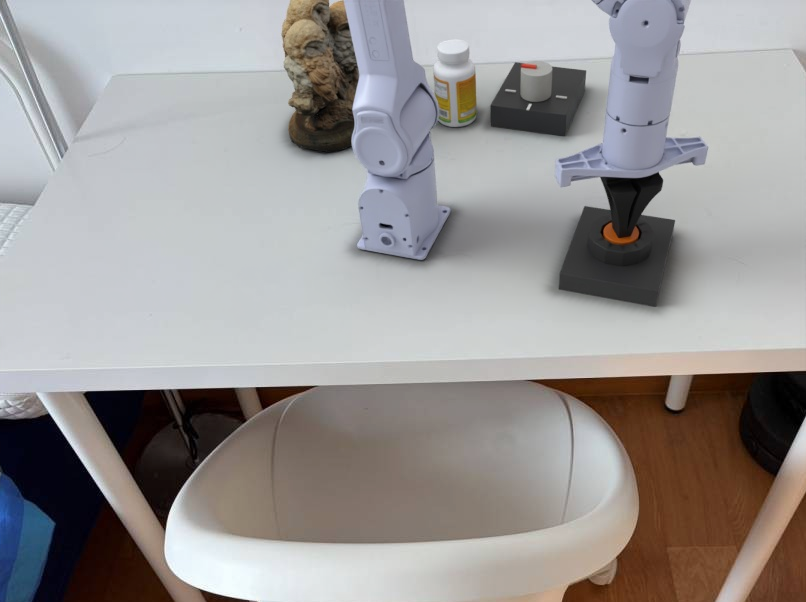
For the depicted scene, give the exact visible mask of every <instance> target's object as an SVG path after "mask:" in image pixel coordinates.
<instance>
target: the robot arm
mask: <svg viewBox="0 0 806 602" xmlns="http://www.w3.org/2000/svg"><path fill="white" fill-rule="evenodd" d="M591 1H592V2H593V3H594V5H595V6H597V8H598V9H599V10H600V11H602V12H604V14H606V15H608V16H610V17H609V19H608V29H609V33H610V36H611V38H612V41H613V42H614V52H613V55H612V58H611V61H610V69H609V79H608V89H607V101H606V107H605V117H604V126H603V127H604V128H603V138H602V142H601V143H599V144H596V145H594V146H591V147H589V148H586V149H584V150H581V151H579V152H576V153H574V154H571V155H568V156H564V157H559V158H555V161H554V178H555V179H556V182H557V184H558V185H559V187H560V188H565V187H566V188H567V187H570V186H571V185H572V182H577V181H583V180H589V179H590V180H591V179H597V178H600V181H601V183H602V186H603V188H604V191H605V195H606V197H607V201H608V206H609V210H610V211H611V218H612V228H613V230H614V231H615V233H616V235H617V237H618V238H624V237H629V236H631V234H632V232H633V230H634V228H635V226H636V224H637V222H638V220H639V218H640V216H641V215H643V213H644V211H645V210H646V208H647V206H648V205H649V204H650V203H651V201H653V199H654V198H655V197H656V196H657V195H658V194H659V193H660V192H661V191H662V189H663V185H664V179H663V177H662V175H661V174H660V172H662V171H664V170H667V169H669V168H671V167H674V166H678V165H684V164H691V163H692V165H694V166H695V167H696V166H703V165H704V166H705V164H706V162H707V156H708V151H709V146H708V145H707V144H706V142H705V141H704V139H703V138H702V137H701V136H694V137H673V136H672V137H669V136H668V137H667V135H668V134H667V133H668V127H669V123H670V122H669V121H670V117H671V112H672V104H673V100H674V94H675V87H676V81H677V75H678V70H679V58H678V57H679V55H680V51H681V46H682V44H681V43H682V41H681V38H682V36H683V34H684V31H685V27H686V26H685V21H686V18H687V15H688V12H689V8H690V5H691V2H692V0H591ZM344 4H345V9H346V14H347V18H348V23H349V28H350V32H351V37H352V42H353V46H354V51H355V56H356V60H357V65H358V70H359V81H358V85H357V90H356V94H355V98H354V103H353V108H352V111H353V115H354V121H355V127H354V131H353V134H352V140H351V142H352V146H351V148H352V151H353V154H354V156H355V157H356V159H357V160H358V162H359V163H360V164H361V165H362V167H364V168H365V169H366V180H365V184H364V187H363V189H362V191H361V193H360V195H359V198H358V202H357V208H358V214H359V221H360V226H361V233H362V235H361V237H360V239H359V241H358V242H357V244H356V246H357V248H358V249H359V250H363V251H369V252H374V253H380V254H386V255H390V256H396V257H402V258H406V259H413V260H418V261H423V260H425V259H426V258H427V256H428V254H429V252H430V251H431V248H432V247H433V246H434V243H435V242H436V239H437V237H438V236H439V235H440V233H441V230H442V228H443V226H444V225H445V223H446V221H447V219H448V218H449V216H450V214H451V211H452V210H451V207H449V206H446V205H439V203H438V193H437V192H438V191H437V178H436V164H435V152H434V147H433V144H432V143H433V142H432V139H431V138H432V137H431V131H432V129H434V128H435V126H436V124H437V123H438V122H439V121H438V118H439V104H438V101H437V99H436V97H435V92H433V90H432V89H431V87H430V85H429V83H428V80H427V75H426V69H425V67H424V66H422V65H421V64H420V63H418V62H416V61H415V60H414V56H413V50H412V43H411V38H410V31H409V24H408V18H407V14H406V13H407V12H406V6H405V0H344Z"/></svg>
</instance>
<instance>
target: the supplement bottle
mask: <svg viewBox="0 0 806 602" xmlns="http://www.w3.org/2000/svg"><path fill="white" fill-rule="evenodd" d="M436 49H437V52H436V53H437V59H438V60H437V61H436V62H435V63H434V64H433V68H432V70H433V71H432V72H433V84H434V86H433V87H434V95H435V97H436V99H437V101H438V104H439V118H438V121H437V122H439V123H440V124H441V125H444V126H445V127H450V128H459V127H465V126H468V125H470V124H472V123H474V121H475V120H476V118H477V115H478V110H477V109H478V107H477V104H478V103H477V78H476V65H475V63H474V61H473V60H472V59H471V58H470V54H471V53H470V45H469V43H468V42H467V41H465V40H463V39H459V38H458V39H457V38H456V39H447V40H443V41H441V42H439V44H438V45H437V47H436Z"/></svg>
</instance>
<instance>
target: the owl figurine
mask: <svg viewBox="0 0 806 602" xmlns="http://www.w3.org/2000/svg"><path fill="white" fill-rule="evenodd" d="M280 34H281V38H282V39H281V40H282V48H283V52H284V60H283V69H284V70H285V71H286V74H287V76H288V78H289V79H290V81H291V82H292V84H293V88H294V91H293V92H292V94H291V97H290V98H289V99H288V101H287V103H288V106H290V107H291V108H294V109H295V111H294V113H293V114H292V116H291V117H290V119H289V122H288V136H289V138H290V140H291V142H292V143H293V144H295V145H296V146H297V147H298V148H299V149H300V148H302V149H309V150H314V151H315V150H316V151H319V152H327V153H329V152H336V151H341V150H344V149H345V150H346V149H348V148H350V147H352V142H351V140H352V134H353V131H354V127H355V121H354V115H353V111H352V108H353V103H354V98H355V94H356V90H357V85H358V81H359V70H358V65H357V60H356V56H355V51H354V46H353V42H352V37H351V32H350V28H349V23H348V18H347V14H346V9H345V4H344V0H338V1H336V2H334V3H332V4H331V5H330V0H289V3H288V6H287V9H286V17H285V19H284V21H283V22H282V26H281V33H280ZM320 109H321V111H320Z"/></svg>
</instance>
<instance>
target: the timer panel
mask: <svg viewBox="0 0 806 602" xmlns="http://www.w3.org/2000/svg"><path fill="white" fill-rule="evenodd" d="M522 63H523V64H525V63H526V62H516V61H515V62H514V63H513V65H512V67H511V69H510V70H509V72H508V73H507V75H506V77H505V79H504V81H503V83H502V84H501V86H500V87H499V90H498V91H497V93H496V94H495V97H494V98H493V100H492V101H491V103H490V105H489V107H490V108H489V109H490V110H489V111H490V113H489V114H490V127H493V128H494V127H495V128H501V129H510V130H516V131H524V132H530V133H538V134H544V135H553V136H560V137H566V136H567V133H568V131H569V129H570V126H571V123H572V122H573V119H574V117H575V115H576V112H577V110H578V108H579V105H580V104H581V101H582V98H583V96H584V94H585V92H586V91H585V90H586V82H587V81H586V79H587V70H586V69H578V68H569V67H561V66H552V65H551V66H552V88H551V96H550V98H548V99H547V100H544V101H540V102H531V101H527V100H525V99H523V98H522V97H521V95H520V87H521V65H522Z"/></svg>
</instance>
